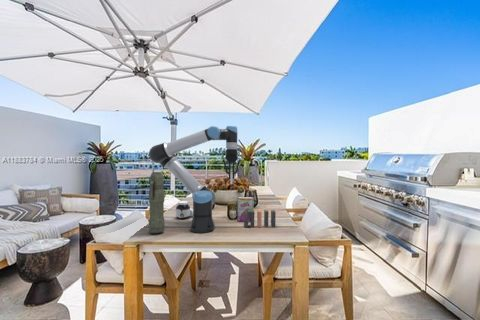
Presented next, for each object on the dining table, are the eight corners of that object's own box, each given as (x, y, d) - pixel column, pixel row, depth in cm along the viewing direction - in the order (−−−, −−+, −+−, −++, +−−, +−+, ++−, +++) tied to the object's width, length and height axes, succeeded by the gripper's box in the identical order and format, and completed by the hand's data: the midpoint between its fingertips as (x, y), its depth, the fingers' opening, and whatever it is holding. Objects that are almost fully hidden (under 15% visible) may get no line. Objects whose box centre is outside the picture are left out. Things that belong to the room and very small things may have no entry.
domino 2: (251, 227, 158) (251, 211, 158) (250, 225, 163) (250, 210, 163) (254, 227, 158) (254, 211, 158) (253, 225, 163) (253, 210, 163)
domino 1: (244, 226, 157) (248, 211, 157) (243, 224, 162) (247, 209, 162) (247, 227, 157) (251, 212, 158) (246, 225, 162) (250, 210, 163)
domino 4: (265, 227, 158) (265, 211, 158) (264, 225, 163) (264, 210, 163) (268, 227, 158) (268, 211, 158) (267, 225, 163) (267, 210, 163)
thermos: (144, 233, 143) (144, 172, 143) (153, 228, 154) (154, 171, 154) (159, 234, 142) (159, 173, 142) (167, 228, 153) (167, 171, 153)
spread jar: (174, 218, 180) (174, 202, 179) (182, 215, 190) (182, 200, 190) (188, 219, 176) (189, 203, 176) (196, 216, 187) (196, 200, 187)
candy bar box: (237, 221, 172) (237, 197, 172) (237, 219, 177) (237, 196, 177) (253, 222, 171) (253, 198, 171) (253, 220, 176) (253, 197, 176)
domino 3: (258, 227, 158) (258, 211, 158) (257, 225, 163) (257, 210, 163) (261, 227, 158) (261, 211, 158) (260, 225, 163) (260, 210, 163)
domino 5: (272, 227, 158) (272, 211, 158) (270, 225, 163) (271, 210, 163) (275, 227, 158) (275, 211, 158) (273, 225, 163) (274, 209, 163)
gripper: (221, 148, 163) (221, 184, 163) (241, 148, 164) (241, 184, 164) (222, 149, 171) (221, 183, 171) (241, 149, 171) (240, 183, 171)
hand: (231, 184), depth 167 cm, fingers closed
